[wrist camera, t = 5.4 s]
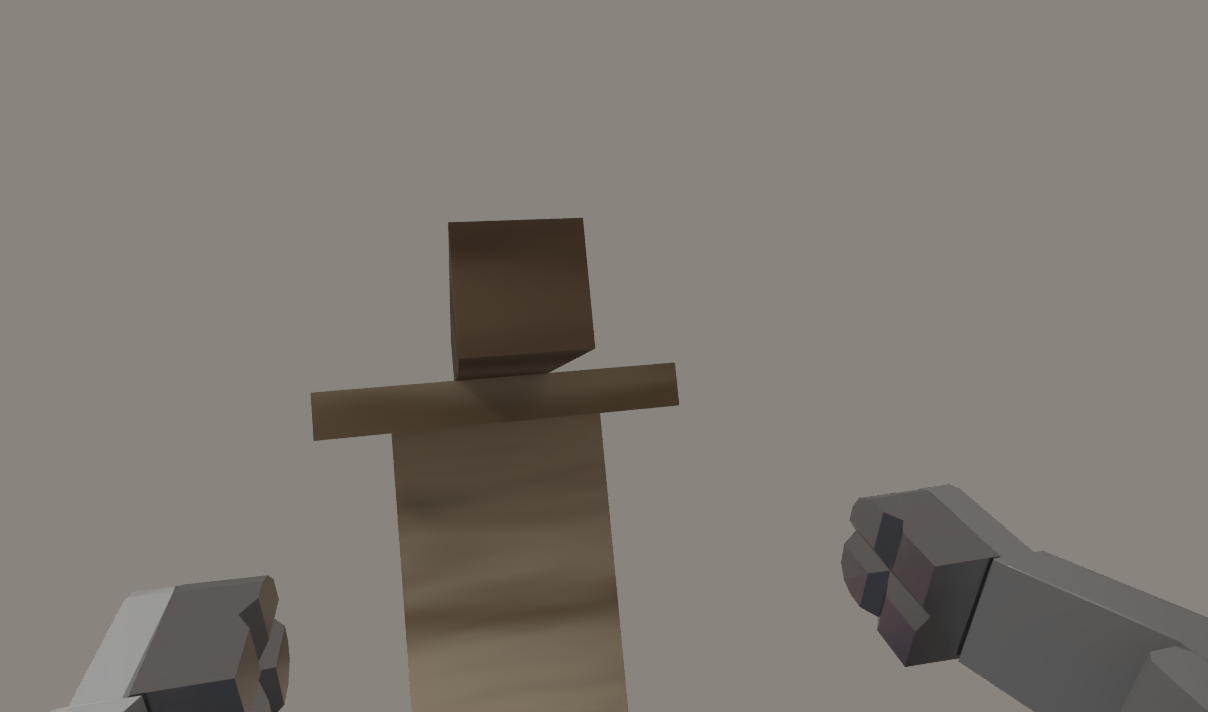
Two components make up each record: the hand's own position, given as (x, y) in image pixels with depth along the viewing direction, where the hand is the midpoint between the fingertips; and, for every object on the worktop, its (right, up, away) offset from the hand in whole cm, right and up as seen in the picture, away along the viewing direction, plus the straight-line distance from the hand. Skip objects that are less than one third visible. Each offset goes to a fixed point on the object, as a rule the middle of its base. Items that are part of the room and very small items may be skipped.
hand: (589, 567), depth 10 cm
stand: (-2, -25, +19) cm, 31 cm away
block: (-4, +2, +16) cm, 17 cm away
